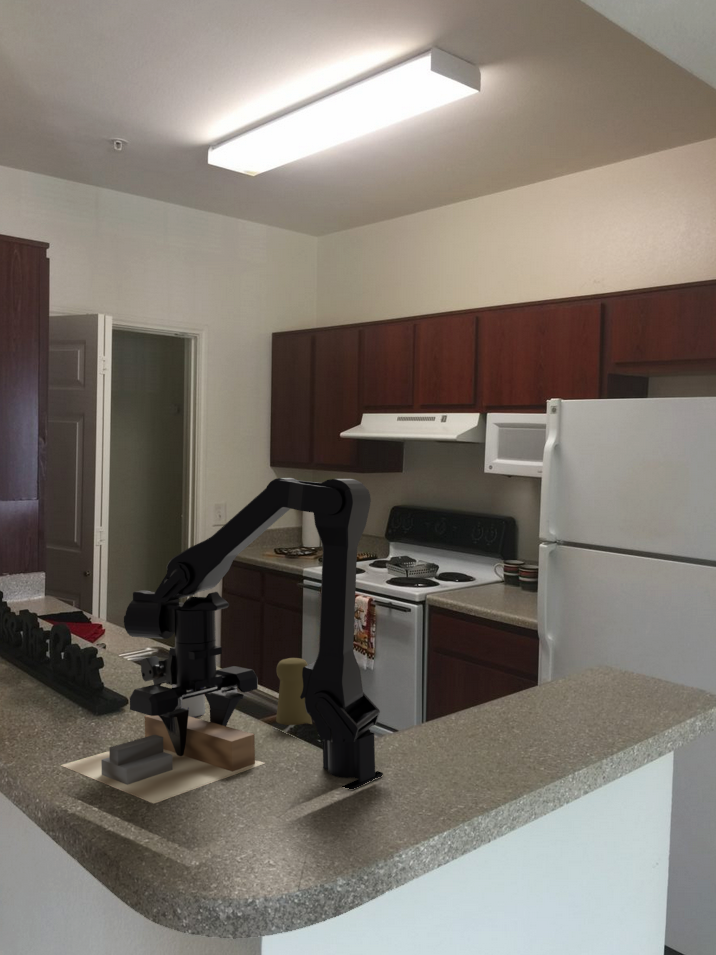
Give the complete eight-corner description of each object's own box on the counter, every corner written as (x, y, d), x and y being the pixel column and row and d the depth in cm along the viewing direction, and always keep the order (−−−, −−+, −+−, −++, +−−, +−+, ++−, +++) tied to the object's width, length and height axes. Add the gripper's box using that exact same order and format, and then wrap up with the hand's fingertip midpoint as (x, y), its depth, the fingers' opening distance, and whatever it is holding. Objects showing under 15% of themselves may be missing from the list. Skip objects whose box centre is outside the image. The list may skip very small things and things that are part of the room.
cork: (307, 733, 129) (305, 663, 130) (270, 732, 131) (268, 662, 131) (316, 722, 135) (315, 655, 135) (281, 721, 137) (279, 654, 137)
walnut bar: (255, 763, 112) (254, 734, 112) (232, 771, 109) (231, 741, 109) (167, 736, 125) (167, 710, 126) (145, 742, 122) (144, 716, 123)
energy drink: (211, 718, 139) (210, 647, 139) (190, 726, 135) (188, 653, 135) (187, 714, 142) (186, 644, 142) (165, 722, 137) (164, 650, 137)
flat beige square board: (265, 771, 112) (264, 733, 112) (154, 813, 99) (153, 769, 99) (169, 741, 127) (168, 707, 127) (60, 773, 113) (59, 736, 113)
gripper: (211, 625, 130) (213, 724, 130) (106, 644, 116) (108, 755, 116) (259, 632, 122) (261, 737, 122) (152, 653, 108) (155, 772, 108)
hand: (197, 749), depth 117 cm, fingers open, 6 cm apart
